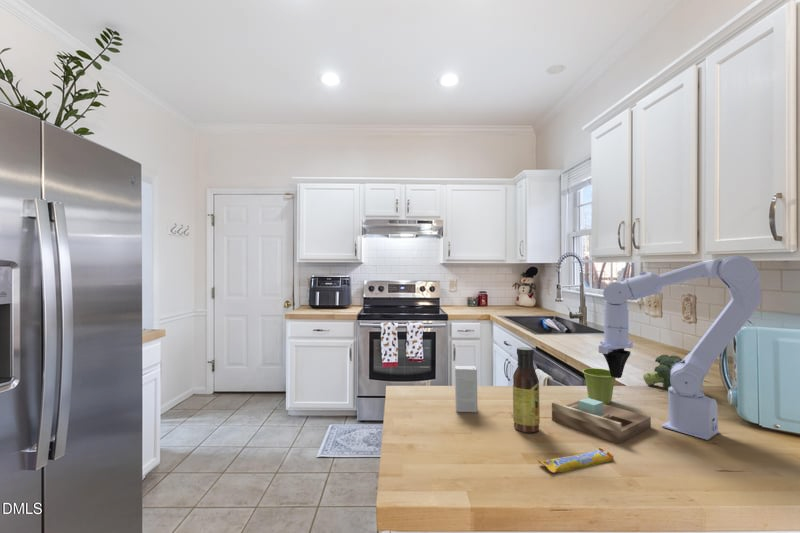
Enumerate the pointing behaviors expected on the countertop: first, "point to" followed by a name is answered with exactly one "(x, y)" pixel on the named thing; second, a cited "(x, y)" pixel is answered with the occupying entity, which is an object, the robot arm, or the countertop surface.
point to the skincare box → (466, 388)
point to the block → (591, 406)
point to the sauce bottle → (526, 393)
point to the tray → (602, 421)
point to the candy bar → (577, 461)
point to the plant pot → (599, 384)
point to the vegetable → (662, 371)
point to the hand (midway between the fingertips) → (616, 377)
